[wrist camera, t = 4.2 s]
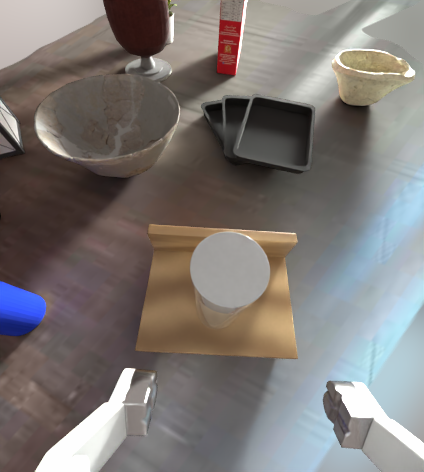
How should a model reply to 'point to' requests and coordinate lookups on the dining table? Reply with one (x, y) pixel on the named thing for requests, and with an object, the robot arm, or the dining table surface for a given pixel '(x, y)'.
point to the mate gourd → (141, 34)
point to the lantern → (9, 132)
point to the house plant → (170, 23)
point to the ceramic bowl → (109, 123)
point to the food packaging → (230, 35)
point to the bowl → (369, 75)
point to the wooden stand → (184, 309)
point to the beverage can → (19, 310)
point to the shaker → (227, 277)
